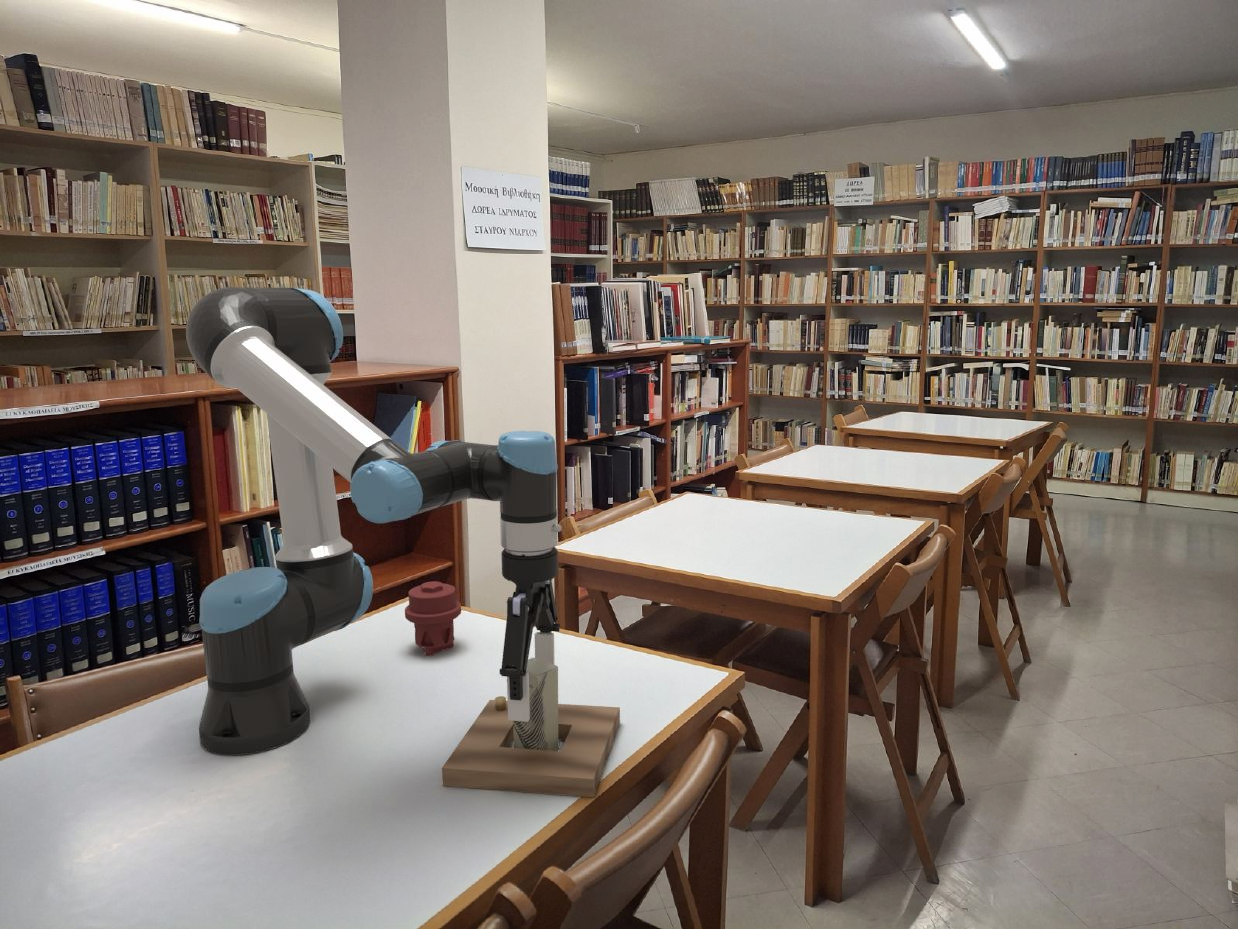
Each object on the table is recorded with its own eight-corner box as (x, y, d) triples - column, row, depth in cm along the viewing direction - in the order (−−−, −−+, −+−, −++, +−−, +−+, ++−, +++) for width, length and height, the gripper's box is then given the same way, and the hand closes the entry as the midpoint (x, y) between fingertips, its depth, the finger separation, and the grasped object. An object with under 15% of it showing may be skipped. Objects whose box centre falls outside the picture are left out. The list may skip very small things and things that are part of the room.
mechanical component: (471, 640, 161) (450, 661, 151) (421, 637, 163) (397, 658, 153) (468, 577, 159) (446, 594, 149) (417, 575, 161) (393, 592, 151)
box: (512, 753, 119) (508, 665, 117) (534, 740, 123) (531, 655, 120) (539, 765, 116) (536, 675, 114) (562, 752, 119) (559, 664, 117)
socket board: (593, 797, 108) (593, 768, 107) (442, 785, 111) (441, 757, 111) (620, 723, 127) (619, 698, 127) (490, 715, 131) (489, 690, 130)
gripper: (532, 578, 101) (535, 743, 105) (577, 525, 126) (578, 661, 130) (471, 575, 103) (477, 738, 107) (527, 523, 127) (530, 658, 131)
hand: (532, 696), depth 118 cm, fingers open, 13 cm apart
